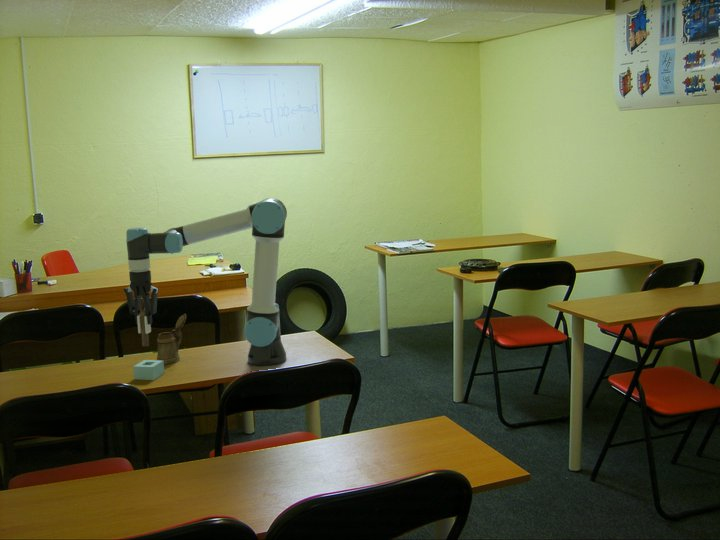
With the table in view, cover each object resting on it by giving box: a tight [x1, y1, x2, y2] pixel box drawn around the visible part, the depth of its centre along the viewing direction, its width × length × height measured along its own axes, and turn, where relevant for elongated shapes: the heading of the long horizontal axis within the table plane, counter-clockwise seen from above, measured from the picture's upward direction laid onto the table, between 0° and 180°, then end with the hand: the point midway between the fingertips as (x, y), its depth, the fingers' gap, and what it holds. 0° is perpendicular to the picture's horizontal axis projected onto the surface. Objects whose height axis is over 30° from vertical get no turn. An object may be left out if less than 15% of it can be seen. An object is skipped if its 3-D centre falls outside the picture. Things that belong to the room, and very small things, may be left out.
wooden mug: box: [156, 313, 187, 365], centre depth 280 cm, size 9×14×18 cm, turn 125°
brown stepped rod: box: [140, 299, 150, 347], centre depth 258 cm, size 2×2×17 cm
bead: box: [132, 359, 165, 381], centre depth 261 cm, size 8×8×5 cm
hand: (144, 332), depth 258 cm, fingers closed on brown stepped rod, 2 cm apart
